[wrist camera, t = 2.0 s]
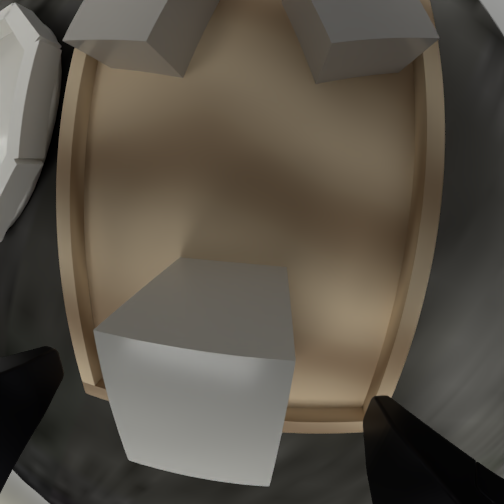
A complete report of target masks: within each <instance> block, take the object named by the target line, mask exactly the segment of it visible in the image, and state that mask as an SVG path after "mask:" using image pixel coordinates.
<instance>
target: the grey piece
mask: <svg viewBox="0 0 504 504" xmlns="http://www.w3.org/2000/svg"><path fill="white" fill-rule="evenodd" d="M282 5H283V7H284V9H285V11H286V13H287V16H288V18H289V20H290V22H291V25H292V27H293V29H294V31H295V34H296V36H297V38H298V41H299V43H300V45H301V48H302V50H303V53H304V55H305V58H306V60H307V63H308V66H309V68H310V71H311V73H312V76H313V79H314V81H315V84H319V83H325V82H330V81H336V80H342V79H348V78H355V77H362V76H370V75H379V74H389V73H399V72H400V71H401V70H403V69H404V68H405V67H406V66H407V65H408V64H410V63H411V62H412V61H413V60H414V59H416V58H417V57H418V56H419V55H420V54H422V53H423V52H424V51H425V50H426V49H428V48H429V47H430V46H431V45H433V44H434V43H435V42H436V41H437V40H439V39H440V37H439V35H438V33H437V31H436V29H435V27H434V25H433V23H432V22H431V20H430V18H429V16H428V14H427V12H426V11H425V9H424V7H423V5H422V4H421V2H420V0H282Z"/></svg>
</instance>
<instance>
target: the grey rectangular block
mask: <svg viewBox="0 0 504 504" xmlns="http://www.w3.org/2000/svg"><path fill="white" fill-rule="evenodd" d="M93 332H94V337H95V343H96V348H97V353H98V357H99V362H100V367H101V371H102V375H103V379H104V383H105V387H106V391H107V395H108V399H109V402H110V406H111V409H112V412H113V416H114V419H115V422H116V425H117V428H118V432H119V435H120V437H121V440H122V443H123V446H124V449H125V452H126V454H127V457H128V460H130V461H133V462H136V463H139V464H143V465H146V466H150V467H153V468H157V469H161V470H165V471H169V472H173V473H178V474H182V475H187V476H192V477H197V478H202V479H208V480H214V481H221V482H228V483H236V484H245V485H256V486H269V485H270V481H271V477H272V473H273V469H274V465H275V461H276V456H277V452H278V448H279V443H280V439H281V434H282V429H283V425H284V420H285V415H286V410H287V405H288V400H289V395H290V389H291V384H292V379H293V373H294V368H295V362H296V359H295V347H294V335H293V324H292V313H291V303H290V293H289V283H288V274H287V267H281V266H270V265H258V264H247V263H236V262H225V261H214V260H203V259H193V258H182V257H180V258H179V259H177V260H176V261H175V262H174V263H172V264H171V265H170V266H169V267H167V268H166V269H165V270H164V271H163V272H161V273H160V274H159V275H158V276H156V277H155V278H154V279H153V280H152V281H150V282H149V283H148V284H147V285H145V286H144V287H143V288H142V289H141V290H139V291H138V292H137V293H136V294H135V295H133V296H132V297H131V298H130V299H129V300H128V301H126V302H125V303H124V304H123V305H122V306H120V307H119V308H118V309H117V310H116V311H115V312H113V313H112V314H111V315H110V316H109V317H108V318H106V319H105V320H104V321H103V322H102V323H101V324H99V325H98V326H97V327H96V328H95V329H94V330H93Z"/></svg>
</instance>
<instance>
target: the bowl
mask: <svg viewBox="0 0 504 504" xmlns="http://www.w3.org/2000/svg"><path fill="white" fill-rule="evenodd" d="M61 47H62V46H61V45H60V44H59V43H58V41H57V39H56V36H55V35H54V33H53V32H52V30H51V29H50V28H49V27H48V26H46V25H45V24H43V23H42V22H41V21H40V20H39V18H38V17H37V16H36V15H35V14H34V12H33V11H31V10H29V9H27V8H25V7H23V6H21V5H19V4H17V3H12V4H10V5H9V6H7V7H6V8H4V9H3V10H1V11H0V242H2V240H3V238H4V236H5V233H6V231H7V229H9V228H10V227H11V226H12V225H13V224H14V222H15V221H16V220H17V218H18V217H19V216H20V214H21V213H22V211H23V209H24V208H25V206H26V205H27V203H28V201H29V199H30V197H31V195H32V193H33V191H34V188H35V186H36V183H37V181H38V179H39V176H40V173H41V170H42V168H43V165H44V162H45V159H46V156H47V152H48V149H49V145H50V142H51V138H52V134H53V130H54V126H55V122H56V116H57V110H58V105H59V98H60V90H61V75H62V66H61V52H62V50H60V48H61Z"/></svg>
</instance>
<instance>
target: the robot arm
mask: <svg viewBox="0 0 504 504" xmlns="http://www.w3.org/2000/svg"><path fill="white" fill-rule="evenodd" d="M63 375H64V371H63V367H62V364H61V360H60V357H59V353H58V351H57V350H56V349H54V348H51V347H48V346H44V347H40V348H36V349H33V350H29V351H25V352H21V353H18V354H14V355H10V356H6V357H2V358H0V493H1V491H2V489H3V487H4V485H5V483H6V481H7V479H8V477H9V475H10V473H11V471H12V469H13V468H14V466H15V464H16V462H17V460H18V458H19V457H20V455H21V453H22V451H23V450H24V448H25V446H26V444H27V443H28V441H29V439H30V437H31V436H32V434H33V432H34V431H35V429H36V427H37V426H38V424H39V423H40V421H41V419H42V418H43V416H44V414H45V412H46V410H47V409H48V407H49V404H50V402H51V400H52V398H53V396H54V394H55V392H56V390H57V389H58V387H59V385H60V383H61V381H62V379H63ZM363 433H364V444H365V457H366V469H367V476H368V481H369V486H370V492H371V497H372V503H373V504H504V479H503V478H501V477H500V476H498V475H496V474H495V473H493V472H492V471H490V470H489V469H487V468H486V467H484V466H483V465H482V464H480V463H479V462H476V461H475V460H474V459H473V458H471V457H470V456H469V455H467V454H466V453H464V452H463V451H462V450H460V449H459V448H458V447H456V446H455V445H453V444H452V443H451V442H449V441H448V440H447V439H445V438H444V437H442V436H441V435H440V434H438V433H437V432H436V431H434V430H433V429H432V428H430V427H429V426H428V425H426V424H425V423H424V422H422V421H421V420H420V419H418V418H417V417H416V416H414V415H413V414H412V413H410V412H409V411H408V410H406V409H405V408H404V407H402V406H401V405H400V404H398V403H397V402H396V401H394V400H393V399H392V398H391V397H389V396H387V395H380V396H374V397H372V399H371V400H370V403H369V405H368V408H367V410H366V413H365V415H364V418H363Z"/></svg>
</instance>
